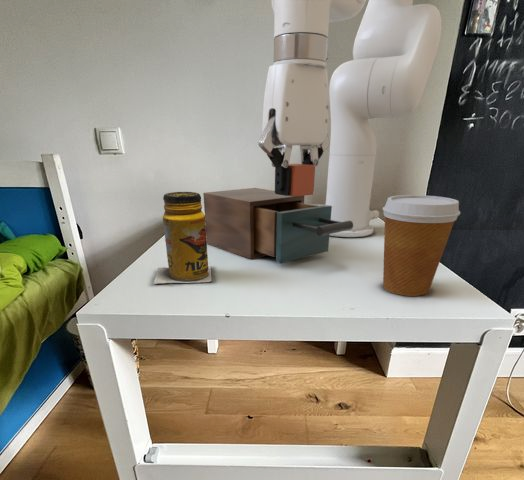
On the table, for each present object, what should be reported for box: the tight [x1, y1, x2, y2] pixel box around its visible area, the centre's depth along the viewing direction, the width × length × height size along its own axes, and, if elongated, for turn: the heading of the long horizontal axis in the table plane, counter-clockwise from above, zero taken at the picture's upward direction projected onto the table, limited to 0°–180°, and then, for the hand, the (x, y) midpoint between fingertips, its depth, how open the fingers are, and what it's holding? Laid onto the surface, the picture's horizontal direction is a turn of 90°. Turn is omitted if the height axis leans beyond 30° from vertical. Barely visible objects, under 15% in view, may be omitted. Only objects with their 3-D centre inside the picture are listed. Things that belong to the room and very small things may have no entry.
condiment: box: [152, 191, 212, 285], centre depth 57 cm, size 7×8×12 cm
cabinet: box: [202, 187, 305, 260], centre depth 74 cm, size 15×13×10 cm
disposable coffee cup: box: [382, 194, 461, 297], centre depth 53 cm, size 10×10×12 cm
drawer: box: [253, 201, 353, 264], centre depth 67 cm, size 20×11×8 cm, turn 39°
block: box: [288, 163, 316, 197], centre depth 63 cm, size 4×4×4 cm
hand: (294, 192), depth 64 cm, fingers closed on block, 4 cm apart
